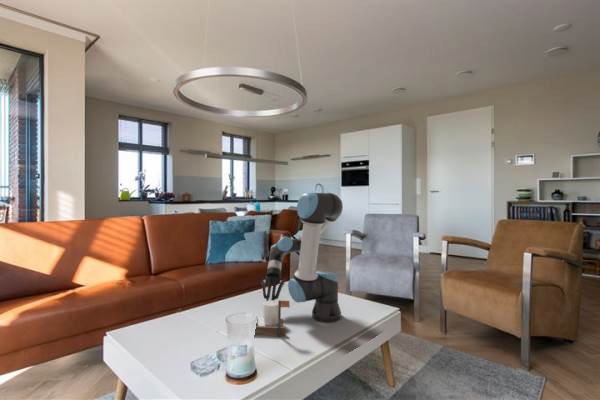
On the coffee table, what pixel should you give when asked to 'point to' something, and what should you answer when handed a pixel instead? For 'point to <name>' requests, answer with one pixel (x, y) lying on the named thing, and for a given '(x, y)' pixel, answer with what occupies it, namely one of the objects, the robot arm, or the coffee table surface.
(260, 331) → the wooden cup stand
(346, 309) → the coffee table surface
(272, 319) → the white cup
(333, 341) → the coffee table surface
